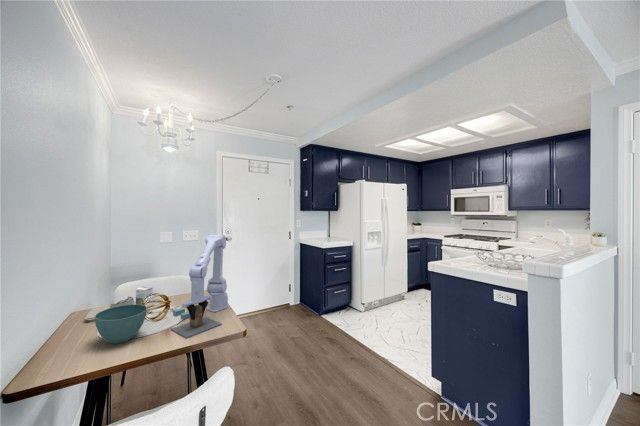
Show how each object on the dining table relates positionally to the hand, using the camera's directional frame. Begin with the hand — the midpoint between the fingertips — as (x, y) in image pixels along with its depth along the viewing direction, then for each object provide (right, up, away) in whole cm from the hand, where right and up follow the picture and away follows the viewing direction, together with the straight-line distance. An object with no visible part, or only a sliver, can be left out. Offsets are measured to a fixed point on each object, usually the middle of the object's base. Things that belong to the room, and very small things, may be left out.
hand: (197, 318), depth 126 cm
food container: (-41, -4, +7) cm, 42 cm away
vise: (-17, -4, +15) cm, 23 cm away
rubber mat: (0, -5, 0) cm, 5 cm away
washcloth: (-57, -4, +12) cm, 59 cm away
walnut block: (-1, -4, 0) cm, 4 cm away
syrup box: (-37, -4, +15) cm, 40 cm away
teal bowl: (-27, -4, -13) cm, 30 cm away
